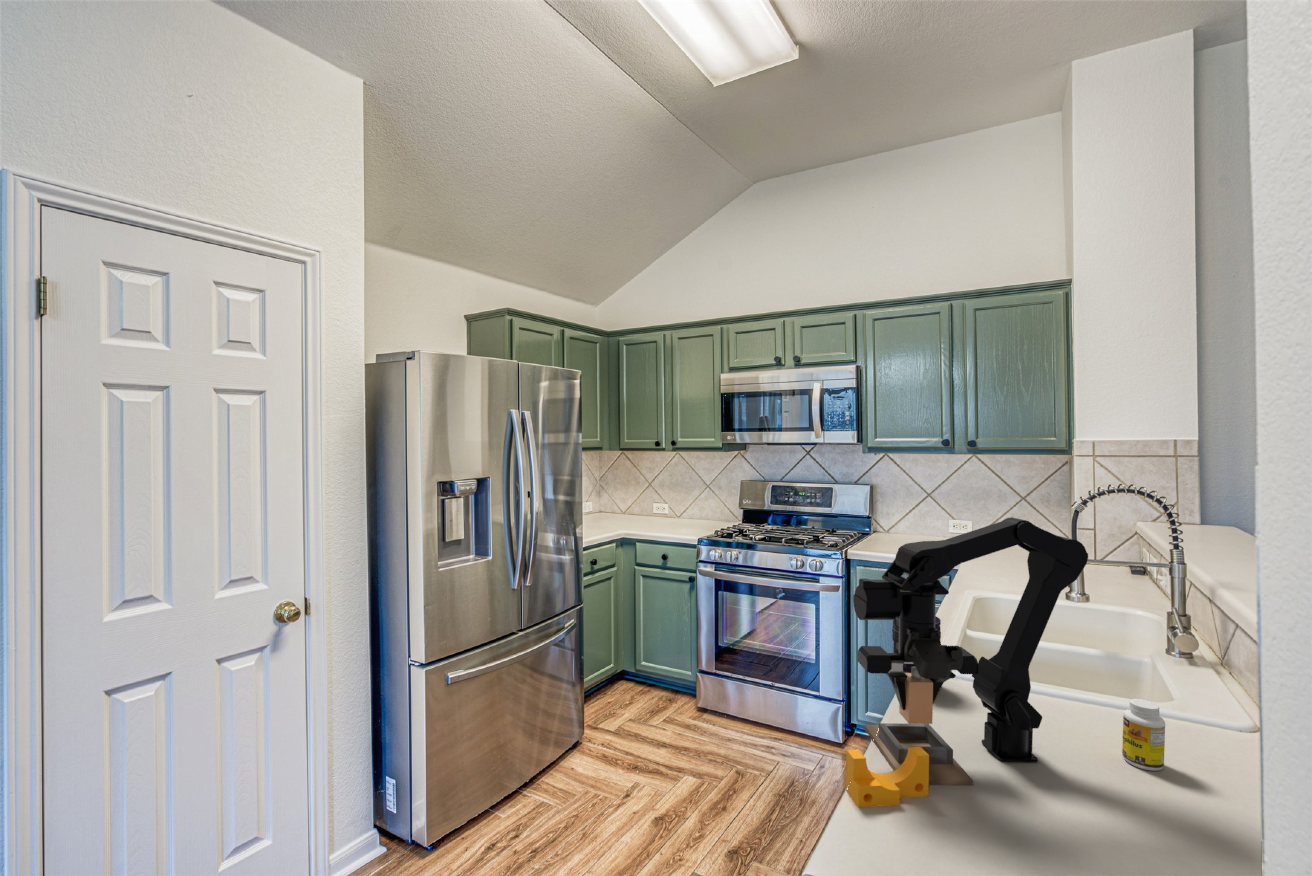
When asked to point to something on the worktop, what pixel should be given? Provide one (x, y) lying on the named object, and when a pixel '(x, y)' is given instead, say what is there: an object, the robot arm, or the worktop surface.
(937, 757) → the end holder
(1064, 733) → the worktop surface
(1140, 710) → the supplement bottle
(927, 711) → the connector
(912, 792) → the pipe clamp
